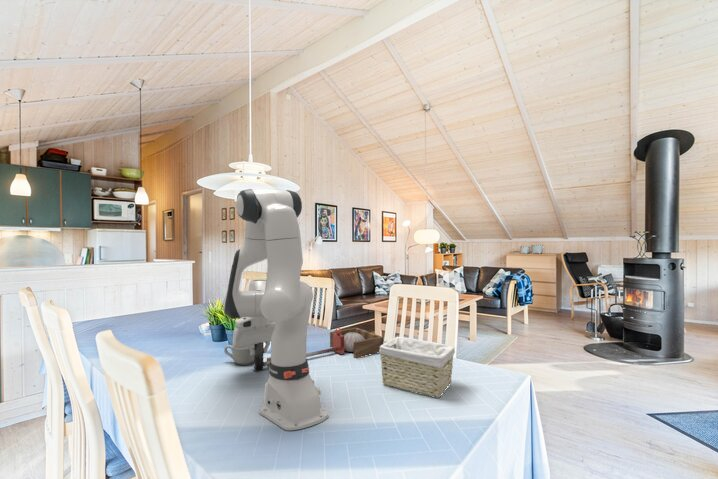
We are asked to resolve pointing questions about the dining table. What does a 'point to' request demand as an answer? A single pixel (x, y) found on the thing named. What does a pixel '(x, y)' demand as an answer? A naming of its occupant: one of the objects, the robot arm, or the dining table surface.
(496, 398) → the dining table surface
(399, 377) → the storage basket
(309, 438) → the dining table surface
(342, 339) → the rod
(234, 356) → the teacup
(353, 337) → the sea urchin shell
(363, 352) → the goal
